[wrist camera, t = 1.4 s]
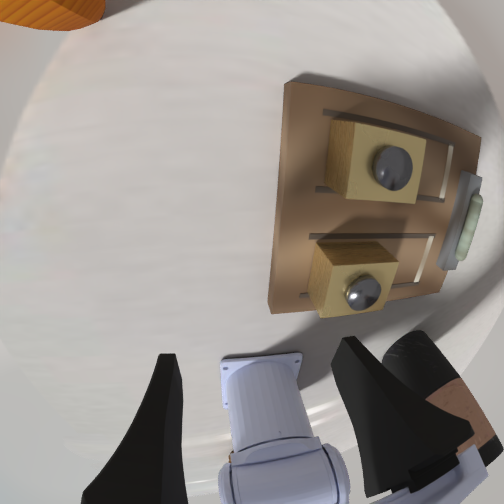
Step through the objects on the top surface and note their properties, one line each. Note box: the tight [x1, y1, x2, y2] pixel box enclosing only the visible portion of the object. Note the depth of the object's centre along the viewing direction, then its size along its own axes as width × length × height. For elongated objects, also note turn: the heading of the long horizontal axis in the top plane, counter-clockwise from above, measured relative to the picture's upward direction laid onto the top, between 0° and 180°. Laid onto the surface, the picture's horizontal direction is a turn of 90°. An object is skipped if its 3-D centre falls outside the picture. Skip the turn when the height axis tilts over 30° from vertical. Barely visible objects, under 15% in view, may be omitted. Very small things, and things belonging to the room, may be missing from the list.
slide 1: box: [324, 120, 426, 204], centre depth 14 cm, size 4×5×4 cm
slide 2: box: [307, 241, 399, 318], centre depth 18 cm, size 4×5×4 cm
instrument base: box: [268, 82, 483, 314], centre depth 18 cm, size 16×18×4 cm
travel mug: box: [382, 331, 504, 467], centre depth 21 cm, size 8×8×20 cm
